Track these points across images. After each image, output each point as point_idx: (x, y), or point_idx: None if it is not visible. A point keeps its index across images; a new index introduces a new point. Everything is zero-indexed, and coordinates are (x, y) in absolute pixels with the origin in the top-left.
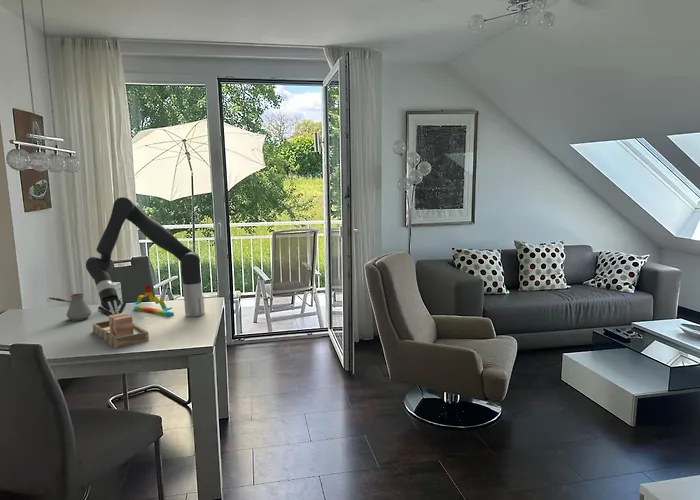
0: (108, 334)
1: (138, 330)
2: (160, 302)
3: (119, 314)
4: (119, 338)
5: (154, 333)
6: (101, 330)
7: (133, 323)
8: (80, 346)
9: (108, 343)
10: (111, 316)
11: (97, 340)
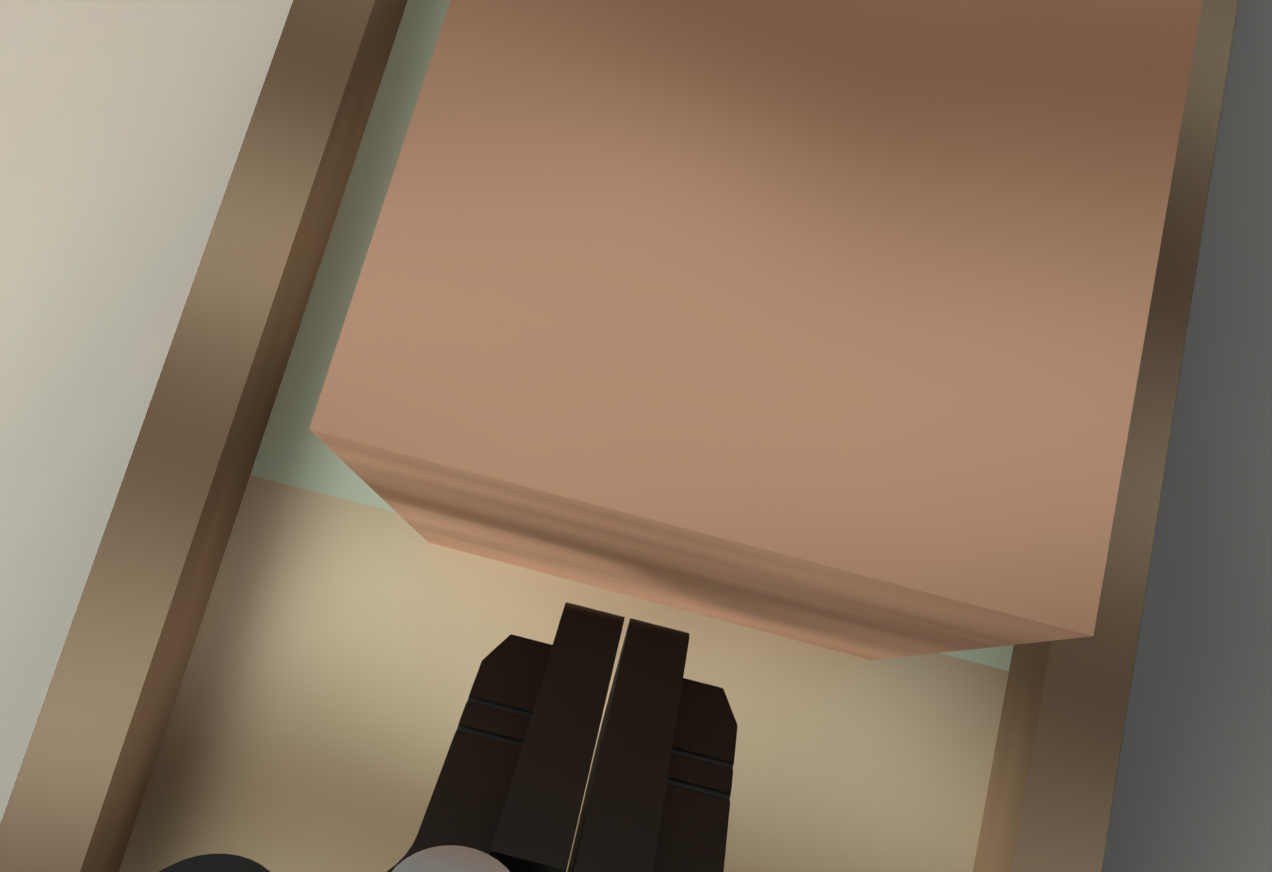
0: (1176, 212)
1: (387, 36)
2: None
3: (674, 327)
4: None
5: (67, 14)
6: (1110, 808)
7: (99, 581)
8: None
9: None
10: (1087, 348)
11: (1142, 776)
